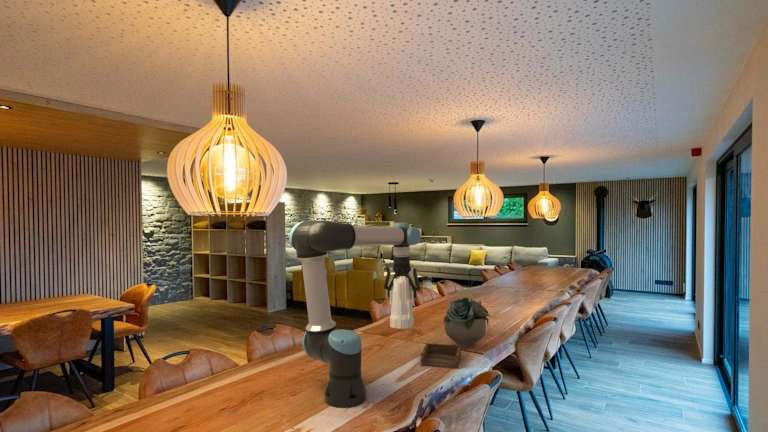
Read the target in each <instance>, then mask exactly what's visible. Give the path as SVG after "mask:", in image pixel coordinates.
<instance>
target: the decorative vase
mask: <svg viewBox="0 0 768 432" xmlns="http://www.w3.org/2000/svg"><path fill="white" fill-rule="evenodd" d="M408 275H409V277H411V274H410V272H409V273H408ZM411 289H412V288H411V285H410V283H409V279H408V278H406V276H397V277H396V278H395V279H394V282H393V286H392V290H393V291H392V305H390V307H391V308H390V310H391V312H390V313H391V314H390V316H389V326H390V328H392V329H396V330H397V329H398V330H399V329H401V330H406V329H411V328H414V326H415V323H414V322H415V316H414V312H413V308H414V306H412V290H411Z"/></svg>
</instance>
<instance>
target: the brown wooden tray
mask: <svg viewBox="0 0 768 432" xmlns="http://www.w3.org/2000/svg"><path fill="white" fill-rule="evenodd" d="M461 359H462V347H461V346H459V345H457V344H456V345H454V344H441V343H425V346H424V348H423V349H422V351H421V353H420V367H432V368H442V369H443V368H447V369H457V370H458V369H459V368H460V363H461Z"/></svg>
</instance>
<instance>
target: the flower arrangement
mask: <svg viewBox="0 0 768 432" xmlns="http://www.w3.org/2000/svg"><path fill="white" fill-rule="evenodd" d="M487 317H489V318H491V315H490V314H489V312H488V310H487V309H486V307H485V306H483V305H482V301H481V300H478V301H476V300H474V299H473V298H472V297H463V298H458V299H455V300H452V301H450V302H449V303H448V305H447V310H446V315H445V316H443V324H444V332H445V334H446V336H447V337H448V338H449V339H451V340H452V341H454V342H455V343H456V345H459V346H461V348H473V346H475V343H478V342H479V341H481V340H482V339H483V338H484V337H485V334H486V331H487V326H489V320H490V319H489V318H487Z"/></svg>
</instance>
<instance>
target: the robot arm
mask: <svg viewBox="0 0 768 432" xmlns="http://www.w3.org/2000/svg"><path fill="white" fill-rule="evenodd" d="M288 238H289V244H290V245H291V247H292V248H293V249H294V250H295V252H296V259H298V260H299V261H300V262H301V266H302V267H301V268H302V269H301V270H302V275H303V282H304V283H303V284H304V291H305V300H306V301H305V302H306V308H307V309H306V310H307V317H308V323H307V325H306V326H305V332H304V335H303V336H302V339H301V345H302V349H303V352H304V353H305V354H306V355H307V356H309V357H310V358H311V359H313V360H316V361H320V362H322V363H324V364H327V365H328V379H327V383H326V386H325V390H324V395H323V397H324V402H325V403H326V405H329V406H332V407H337V408H350V407H353V406H355V407H356V406H357V405H358V406H359V405H361V404H363V403H364V402H365V401H366V400H367V389H366V385H365V383H364V381H363V377H362V346H363V345H362V341H361V336H360V334H359V333H358V332H356V331H354V330H351V329H339V328H338V329H337V322H336V321H335V320H333V319H332V313H331V305H330V296H329V295H330V294H329V288H328V281H327V280H328V279H327V270H326V263H325V258H326V257H327V256H328V254H329V252H336V251H342V250H350V249H353V247H371V246H372V247H374V246H392V247H393V249H392V251H393V253H392V254H393V266H392V267H389V266H388V267H387V268H386V277H385V280H384V283H383V289H384V290H387V297H388V298H389V306H391V305H392V291H393V282H394V279H395V278H396V277H397V276H406V278H408V279H409V283H410V288H411V289H412V290H411V298H412V306H413V307H414V306H415V299H416V298H417V294H418V293H417V292H418V291H419V290H420V289H421V285H420V282H419V277H418V272H417V270H418V267H411V257H410V254H411V252H410V249H411V248H410V246H415V245H418V244H419V243H420V241H421V238H422V237H421V231H420V229H419V228H418V227H416V226H415V227H414V226H410V225H409V223H408V222H393V224H392V226H366V225H365V226H364V225H362V226H360V225H353V224H352V223H349V222H348V223H345V222H339V221H338V222H336V221H331V220H323V219H321V220H303V221H300V222H297V223H295V225H294V226H292V228H291V230H290V233H289V237H288ZM392 272H394V274H393V278H392V279H391V281H390V278H391V274H392ZM410 272H411V273H412V276H413V278H414V281H413V279H412V278H411V276H410V277H409V275H408V273H410ZM389 283H390V284H389Z"/></svg>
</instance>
